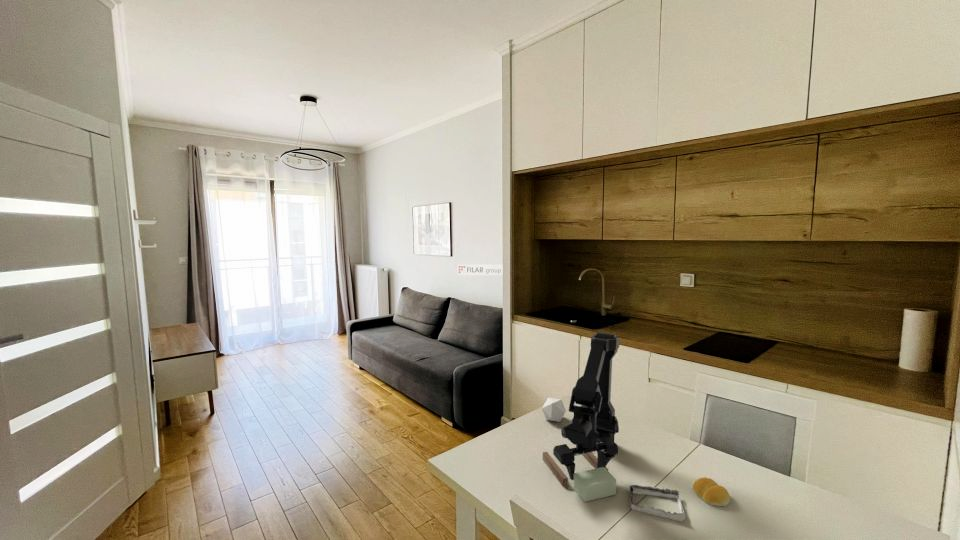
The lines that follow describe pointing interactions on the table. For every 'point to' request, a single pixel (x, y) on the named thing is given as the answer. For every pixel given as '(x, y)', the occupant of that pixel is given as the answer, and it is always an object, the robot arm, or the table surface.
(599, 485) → the block
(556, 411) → the die
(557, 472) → the chute rails
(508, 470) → the table surface
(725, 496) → the bread roll
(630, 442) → the table surface
